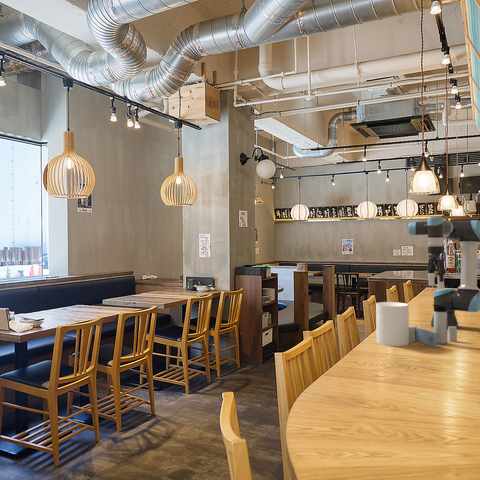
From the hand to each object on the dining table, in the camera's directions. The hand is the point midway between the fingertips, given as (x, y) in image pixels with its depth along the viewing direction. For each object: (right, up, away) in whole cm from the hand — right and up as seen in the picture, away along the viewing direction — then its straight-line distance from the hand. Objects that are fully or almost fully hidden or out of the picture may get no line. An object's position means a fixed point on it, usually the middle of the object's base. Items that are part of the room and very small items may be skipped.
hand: (436, 286), depth 231 cm
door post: (-12, -29, +3) cm, 31 cm away
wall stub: (+9, -29, +1) cm, 30 cm away
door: (-8, -28, -5) cm, 30 cm away
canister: (-23, -29, 0) cm, 37 cm away
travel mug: (0, -29, -4) cm, 29 cm away
